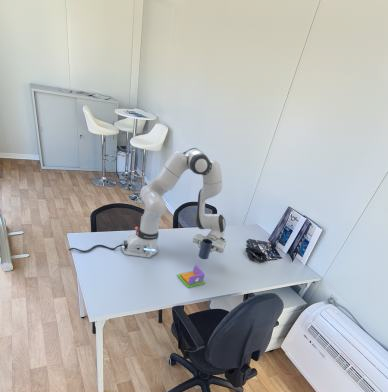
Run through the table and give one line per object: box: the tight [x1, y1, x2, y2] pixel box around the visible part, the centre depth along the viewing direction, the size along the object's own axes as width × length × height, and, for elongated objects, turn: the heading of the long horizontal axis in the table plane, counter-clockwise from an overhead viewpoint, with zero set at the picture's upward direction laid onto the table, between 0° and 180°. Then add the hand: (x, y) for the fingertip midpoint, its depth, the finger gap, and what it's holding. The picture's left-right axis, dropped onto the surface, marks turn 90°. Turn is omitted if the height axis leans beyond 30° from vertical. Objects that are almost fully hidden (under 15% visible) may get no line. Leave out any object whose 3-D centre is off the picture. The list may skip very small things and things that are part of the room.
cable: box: [245, 246, 268, 263], centre depth 207 cm, size 17×14×4 cm
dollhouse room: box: [177, 264, 205, 288], centre depth 168 cm, size 12×12×7 cm
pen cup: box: [197, 239, 213, 260], centre depth 171 cm, size 6×6×10 cm
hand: (205, 248), depth 170 cm, fingers closed on pen cup, 6 cm apart
